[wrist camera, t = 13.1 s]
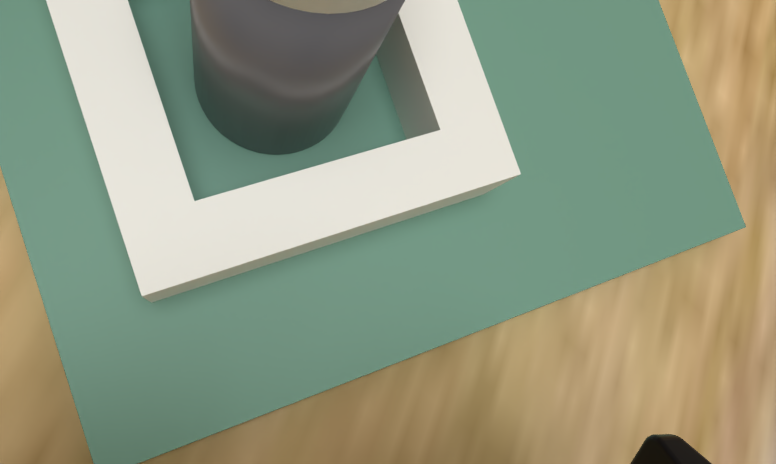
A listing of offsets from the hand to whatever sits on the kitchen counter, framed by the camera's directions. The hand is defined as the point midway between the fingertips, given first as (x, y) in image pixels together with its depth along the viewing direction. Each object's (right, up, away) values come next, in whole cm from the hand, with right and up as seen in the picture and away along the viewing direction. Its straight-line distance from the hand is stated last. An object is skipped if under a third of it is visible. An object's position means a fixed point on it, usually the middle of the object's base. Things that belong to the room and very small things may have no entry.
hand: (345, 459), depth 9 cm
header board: (0, +7, +15) cm, 17 cm away
